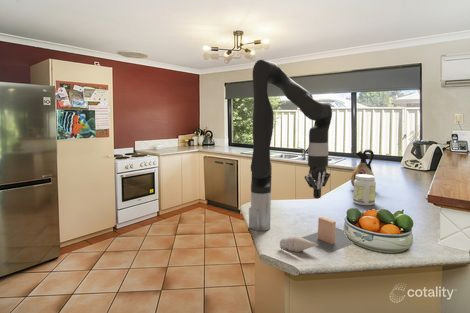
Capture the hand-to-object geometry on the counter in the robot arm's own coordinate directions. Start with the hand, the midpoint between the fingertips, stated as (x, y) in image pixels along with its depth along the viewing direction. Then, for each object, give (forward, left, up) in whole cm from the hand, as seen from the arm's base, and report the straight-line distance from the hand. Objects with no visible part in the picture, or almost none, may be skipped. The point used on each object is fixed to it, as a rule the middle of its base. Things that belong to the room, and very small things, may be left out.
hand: (317, 197), depth 115 cm
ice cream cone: (-10, 0, -20) cm, 22 cm away
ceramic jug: (+100, +43, -20) cm, 111 cm away
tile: (+6, 0, -19) cm, 20 cm away
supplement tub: (+72, +25, -20) cm, 79 cm away
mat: (+10, 0, -20) cm, 22 cm away
